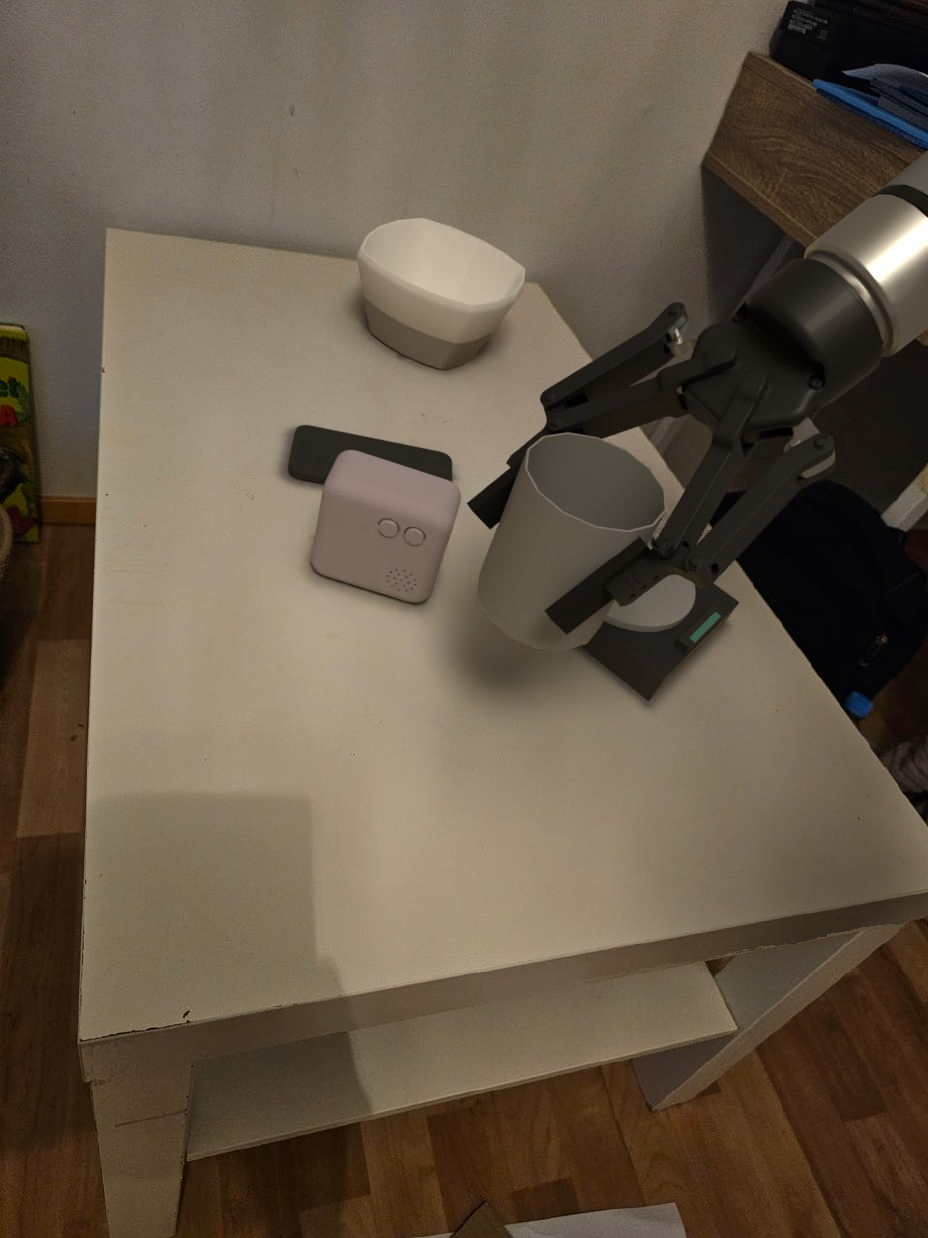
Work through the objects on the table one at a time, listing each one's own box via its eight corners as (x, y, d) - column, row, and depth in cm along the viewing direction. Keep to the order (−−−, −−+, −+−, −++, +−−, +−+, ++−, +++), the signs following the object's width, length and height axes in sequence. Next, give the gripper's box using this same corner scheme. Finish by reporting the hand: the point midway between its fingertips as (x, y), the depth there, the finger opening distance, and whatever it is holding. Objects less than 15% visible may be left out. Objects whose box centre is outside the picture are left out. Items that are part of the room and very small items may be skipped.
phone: (296, 421, 78) (452, 453, 81) (296, 429, 79) (450, 459, 82) (286, 470, 73) (452, 501, 76) (285, 477, 74) (450, 508, 77)
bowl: (319, 328, 92) (332, 245, 85) (399, 281, 104) (415, 205, 97) (457, 401, 89) (481, 322, 82) (523, 344, 101) (548, 270, 95)
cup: (599, 665, 51) (669, 549, 44) (470, 630, 50) (520, 505, 43) (600, 573, 57) (662, 456, 50) (484, 540, 56) (531, 417, 49)
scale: (723, 623, 76) (745, 593, 73) (648, 701, 67) (670, 670, 64) (587, 522, 81) (603, 491, 78) (501, 582, 72) (515, 549, 69)
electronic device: (304, 577, 66) (321, 480, 59) (320, 540, 70) (338, 444, 63) (424, 615, 67) (454, 523, 60) (435, 576, 70) (465, 485, 63)
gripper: (984, 463, 43) (634, 721, 47) (728, 257, 54) (457, 481, 57) (1004, 384, 37) (596, 689, 41) (709, 168, 48) (406, 425, 51)
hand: (515, 567), depth 49 cm, fingers closed on cup, 8 cm apart
